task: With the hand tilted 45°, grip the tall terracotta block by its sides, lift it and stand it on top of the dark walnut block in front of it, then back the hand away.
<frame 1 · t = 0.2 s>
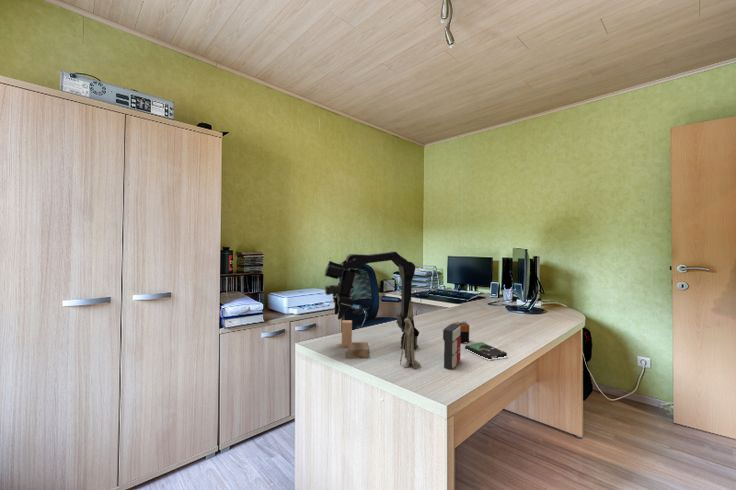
hand: (337, 316, 133), 15 cm above the table, tool tilted 15°, fingers open, 9 cm apart
disk drive: (485, 354, 136), on the table
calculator: (451, 364, 122), on the table
battery: (460, 342, 151), on the table
wizard figurine: (409, 364, 121), on the table
terracotta block: (346, 345, 142), on the table
walnut block: (357, 355, 131), on the table
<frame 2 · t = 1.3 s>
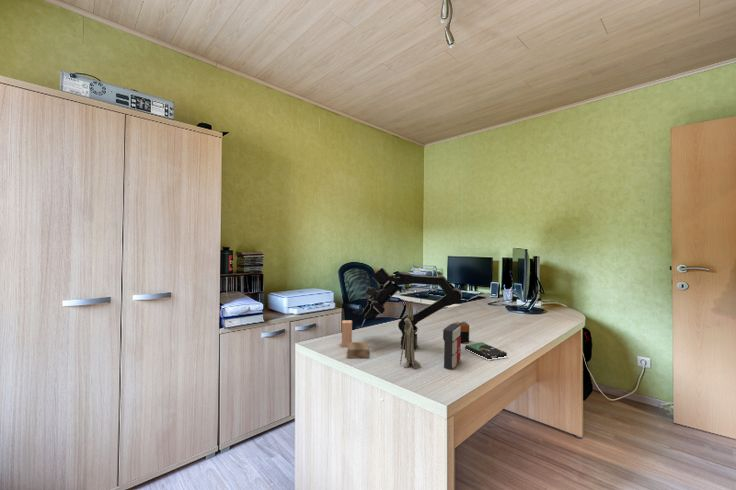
hand: (363, 316, 143), 13 cm above the table, tool tilted 45°, fingers open, 9 cm apart
nothing on the table moved.
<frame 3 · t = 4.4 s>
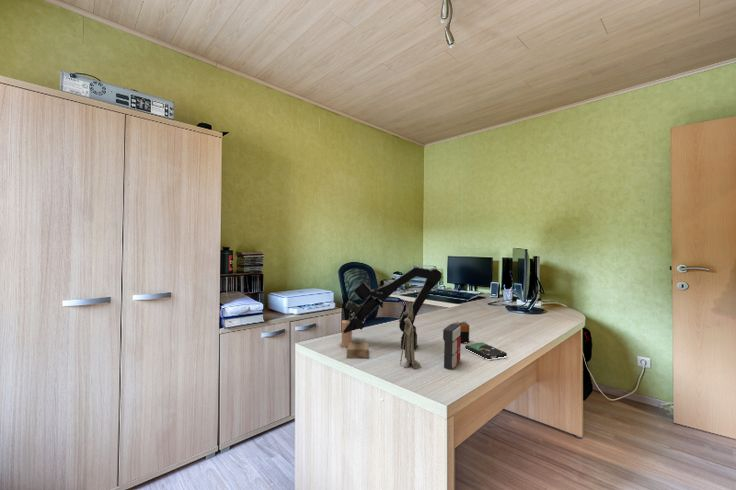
hand: (343, 330, 142), 7 cm above the table, tool tilted 45°, fingers closed on terracotta block, 4 cm apart
terracotta block: (346, 345, 142), on the table, touching gripper
everything else where it was.
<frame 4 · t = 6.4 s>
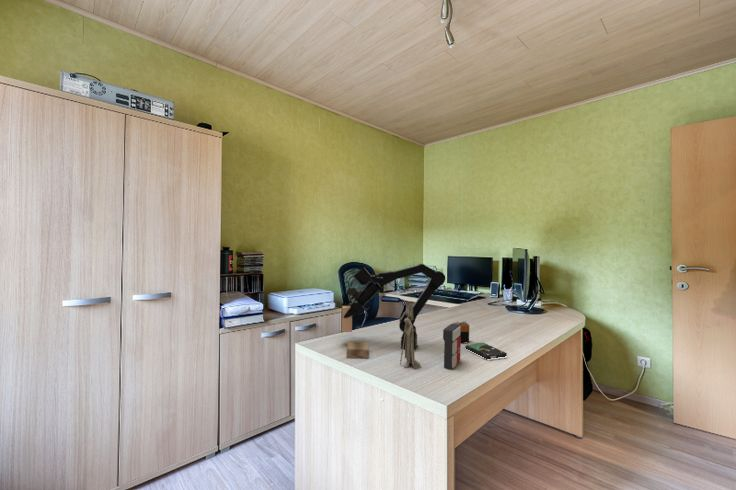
hand: (344, 316, 142), 13 cm above the table, tool tilted 45°, fingers closed on terracotta block, 4 cm apart
terracotta block: (346, 330, 142), point 7 cm above the table, touching gripper
everything else where it was.
when the fingers open (12 cm above the table, at t = 8.7 s): terracotta block drops 2 cm, resting on walnut block.
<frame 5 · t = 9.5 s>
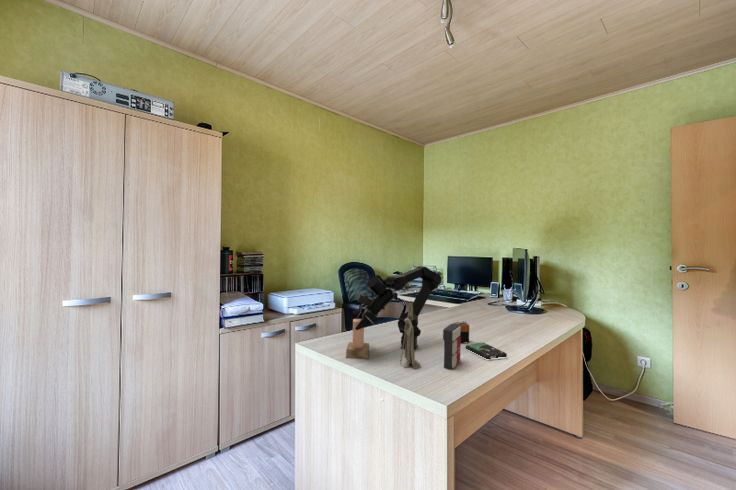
hand: (355, 326, 131), 12 cm above the table, tool tilted 45°, fingers open, 9 cm apart
terracotta block: (357, 345, 131), point 4 cm above the table, touching walnut block
walnut block: (357, 355, 131), on the table, touching terracotta block
everything else where it was.
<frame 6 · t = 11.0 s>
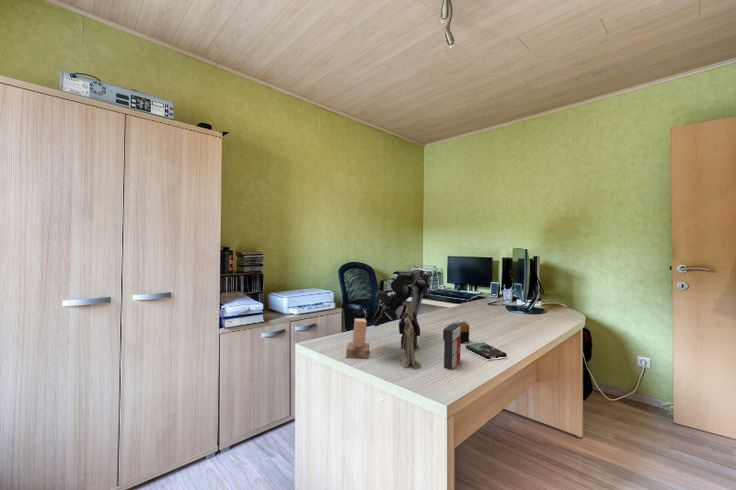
hand: (373, 322, 132), 13 cm above the table, tool tilted 45°, fingers open, 9 cm apart
terracotta block: (358, 345, 131), point 4 cm above the table
walnut block: (358, 355, 131), on the table
everything else where it was.
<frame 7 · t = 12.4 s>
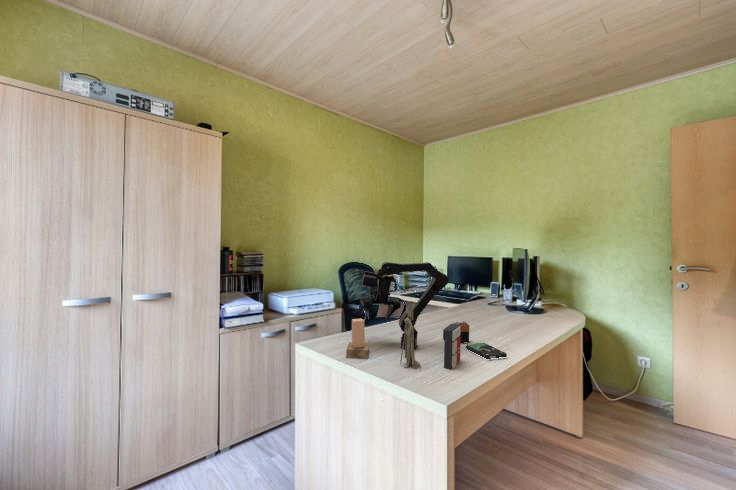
hand: (377, 319, 145), 12 cm above the table, tool tilted 15°, fingers open, 9 cm apart
terracotta block: (358, 345, 131), point 4 cm above the table, touching walnut block
walnut block: (358, 355, 131), on the table, touching terracotta block
everything else where it was.
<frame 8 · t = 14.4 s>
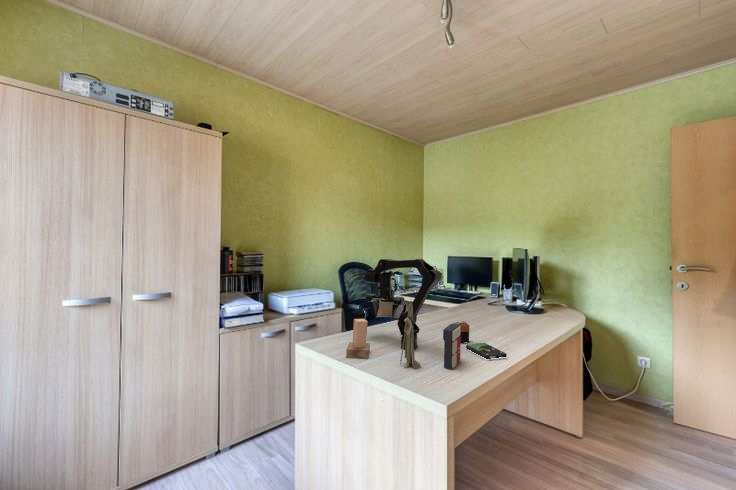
hand: (384, 316, 150), 12 cm above the table, tool pointing down, fingers open, 9 cm apart
terracotta block: (359, 345, 131), point 4 cm above the table
walnut block: (358, 355, 131), on the table
everything else where it was.
at the end: terracotta block 0.3 cm off-centre on the walnut block, point 4.1 cm above the walnut block's base; terracotta block tilted 2°; the gripper is holding nothing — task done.
